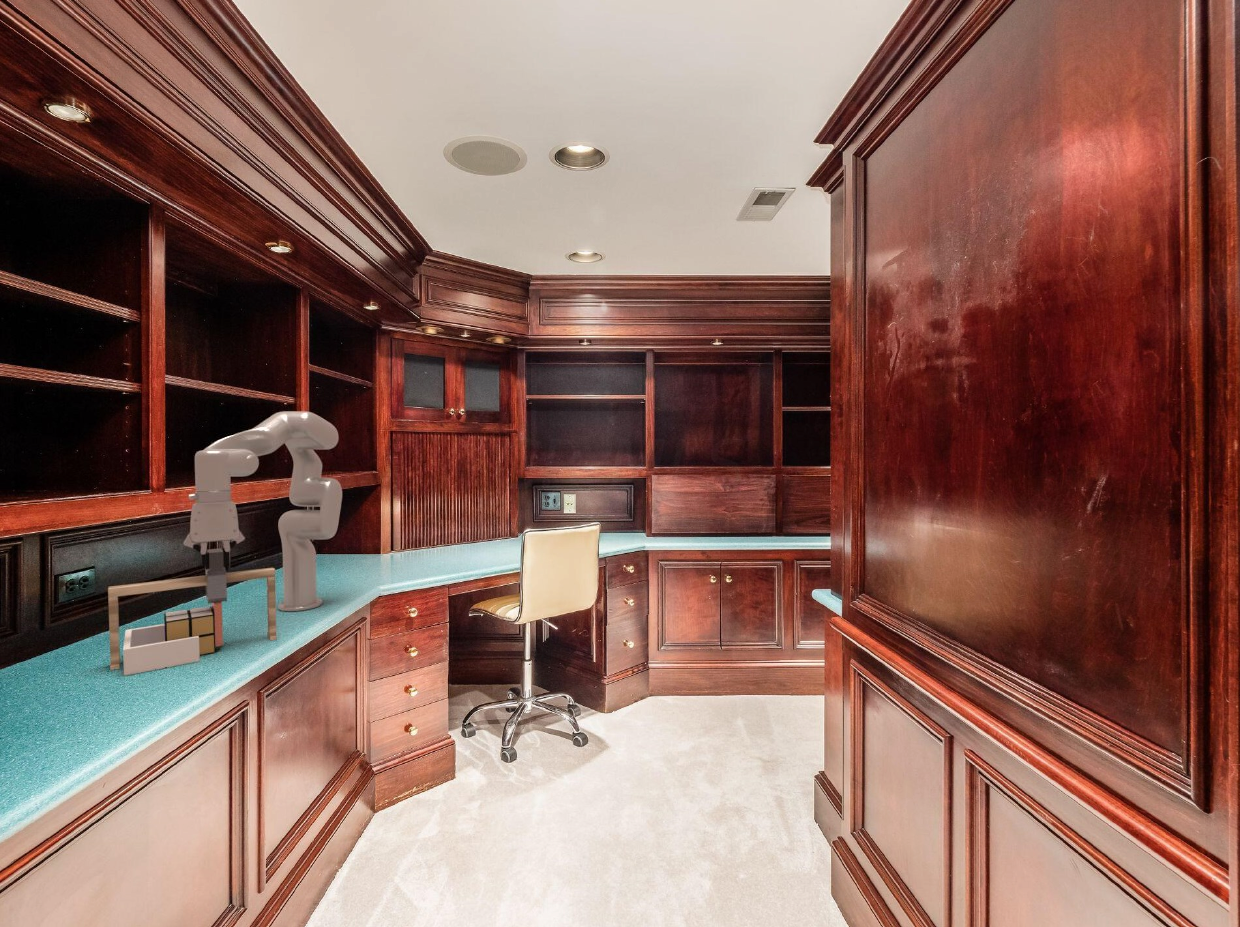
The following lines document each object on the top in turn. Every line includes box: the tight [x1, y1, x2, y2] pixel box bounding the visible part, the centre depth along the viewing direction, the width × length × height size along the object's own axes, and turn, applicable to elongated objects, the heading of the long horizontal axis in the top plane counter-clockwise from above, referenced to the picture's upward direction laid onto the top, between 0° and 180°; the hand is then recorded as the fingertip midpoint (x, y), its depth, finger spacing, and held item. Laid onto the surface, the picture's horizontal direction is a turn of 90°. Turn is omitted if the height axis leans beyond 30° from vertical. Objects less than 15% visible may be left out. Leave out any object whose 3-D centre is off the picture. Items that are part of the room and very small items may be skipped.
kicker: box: [205, 547, 228, 648], centre depth 153 cm, size 9×4×24 cm, turn 39°
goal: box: [122, 623, 201, 677], centre depth 146 cm, size 18×14×6 cm
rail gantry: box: [107, 567, 278, 671], centre depth 151 cm, size 6×34×19 cm, turn 129°
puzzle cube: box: [163, 605, 217, 656], centre depth 150 cm, size 10×10×10 cm
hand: (215, 566), depth 153 cm, fingers closed on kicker, 3 cm apart
